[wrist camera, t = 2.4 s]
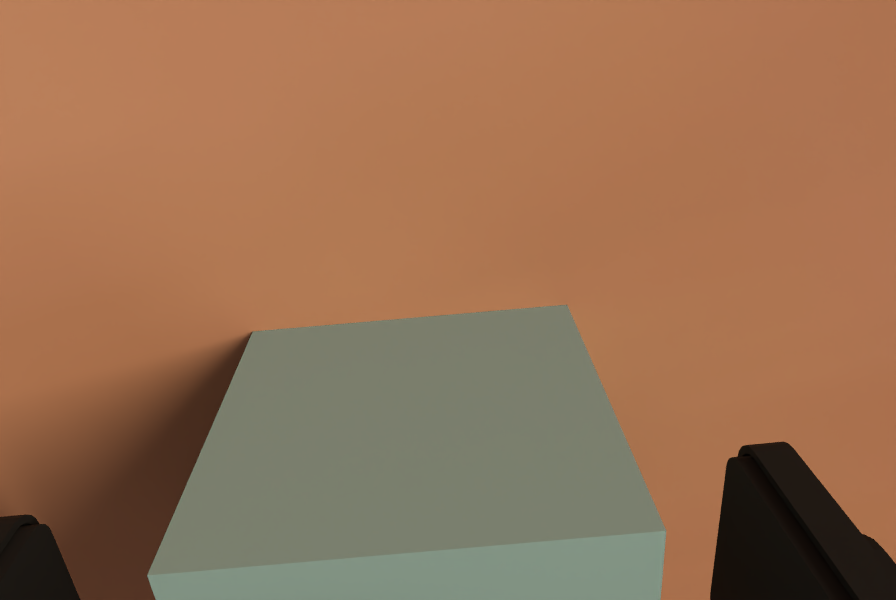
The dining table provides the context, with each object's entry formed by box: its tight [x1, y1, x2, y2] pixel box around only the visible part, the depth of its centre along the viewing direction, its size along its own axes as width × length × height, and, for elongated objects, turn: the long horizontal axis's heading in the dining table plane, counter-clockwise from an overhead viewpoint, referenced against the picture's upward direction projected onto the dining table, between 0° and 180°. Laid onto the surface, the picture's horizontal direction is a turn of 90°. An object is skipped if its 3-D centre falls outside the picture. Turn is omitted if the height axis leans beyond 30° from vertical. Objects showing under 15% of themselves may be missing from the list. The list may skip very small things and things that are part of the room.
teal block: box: [147, 305, 666, 600], centre depth 10 cm, size 5×5×5 cm
